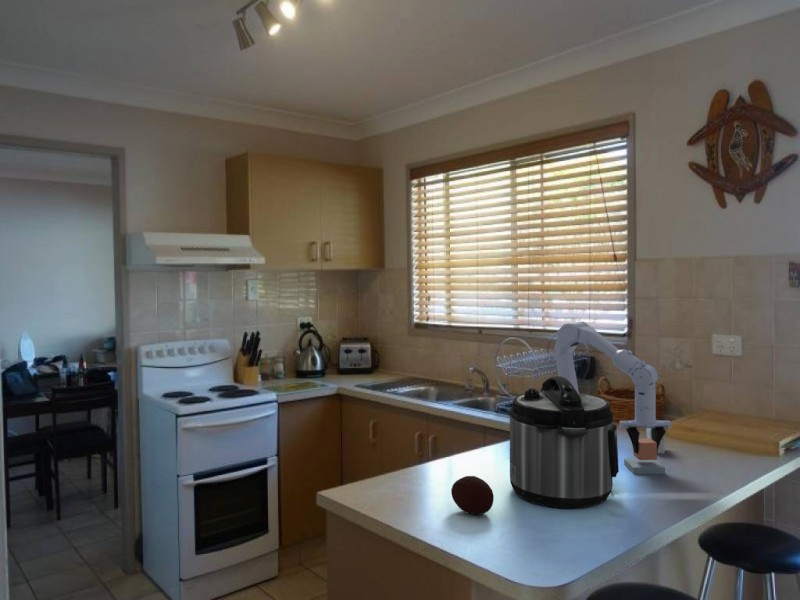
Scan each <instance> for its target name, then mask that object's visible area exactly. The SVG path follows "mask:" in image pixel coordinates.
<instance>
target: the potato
mask: <svg viewBox="0 0 800 600" xmlns="http://www.w3.org/2000/svg"><path fill="white" fill-rule="evenodd" d="M450 491H451V497H452V500H453V502H454V504H455V505H457V507H458V508H459V509H460V510H461V511H463V512H465V513H466V512H468V513H467V514H470V513H473V514H472V515H483V514H486V513H488V512H489V511H490V510H491V509H492V507H493V504H494V497H495V496H494V493H493V489H492V487H491V486H490V485H489V483H487V482H486V480H484V479H482V478H480V477H478V476H476V475H466V476H463V477H461V478H459V479H457V480H456V481H455V482H454V483H453V484H452V486H451V490H450Z"/></svg>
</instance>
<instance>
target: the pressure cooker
mask: <svg viewBox="0 0 800 600" xmlns="http://www.w3.org/2000/svg"><path fill="white" fill-rule="evenodd" d="M509 411H510V413H509V479H510V485H511V487H512V490H513V491H514V493H515V494H516V495H517V496H518V495H519V497H520V498H522V499H523V498H524V500H525V499H526V501H528V502H530V501H531V503H533V502H534V503H533V504H537V505H541V506H545V505H546V507H550V506H553V508H558V507H561V509H562V508H563V509H575V508H577V509H579V508H587V507H592V506H595V505H599V504H601V503H604V502H605V501H606V500H607V499H608V498H609V496H610V495H611V493H612V489H613V478H616V477H617V476H618V473H619V472H620V470H619V469H620V468H619V452H618V451H619V450H618V430H617V423H616V422H614V413H613V411H612V410H611V403H610V401H608V400H606V399H605V398H602V397H599V396H594V395H589V394H584V393H579V394H578V393H577V391H576V390H575V388H574V387H573V385H572V384H571V383H570V382H569V381H568V380H567V379H566V378H564V377H561V376H558V375H557V376H552V377H549V378H547V379H546V380H545V381H544V382H542V387H540V391H539V390H537V388H528V389H526V390H525V391H524V394H521V395H517V396H516V397H514V398H513V399H512V406H511V407H510V410H509Z"/></svg>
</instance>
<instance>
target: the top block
mask: <svg viewBox="0 0 800 600" xmlns="http://www.w3.org/2000/svg"><path fill="white" fill-rule="evenodd" d="M623 461H624V462H623V465H624V466H625V467H626V468H627V470H629V471H630V473H632V474H633V475H666V467H665V466H664V465H663V464H662V463H660V462H659V461H658V459H657V460H639V459H638V458H624V459H623Z"/></svg>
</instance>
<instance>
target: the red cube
mask: <svg viewBox="0 0 800 600" xmlns="http://www.w3.org/2000/svg"><path fill="white" fill-rule="evenodd" d="M638 445H639V449H638V453H635V452H634V451H633V456H634V458H635V459H639V460H657V461H658V453H657V443H656V442H655V441H653V440H652V439H646V438H639V442H638Z"/></svg>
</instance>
